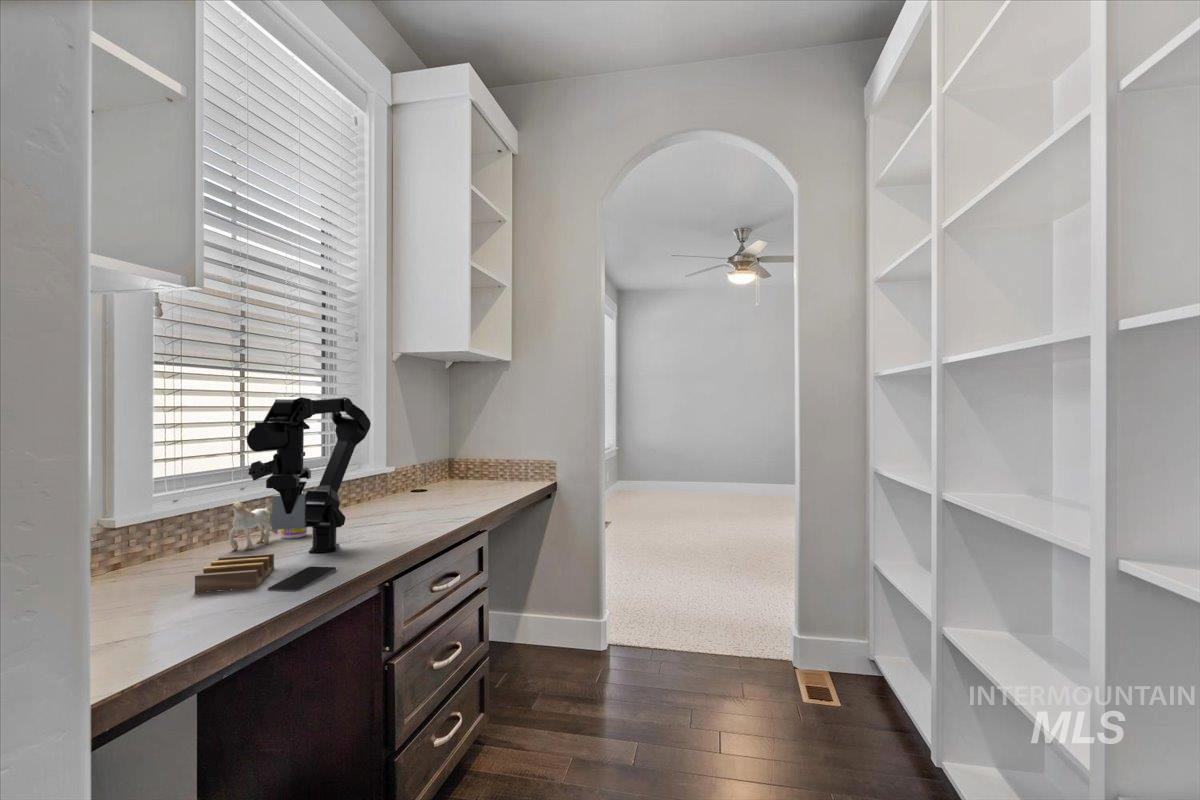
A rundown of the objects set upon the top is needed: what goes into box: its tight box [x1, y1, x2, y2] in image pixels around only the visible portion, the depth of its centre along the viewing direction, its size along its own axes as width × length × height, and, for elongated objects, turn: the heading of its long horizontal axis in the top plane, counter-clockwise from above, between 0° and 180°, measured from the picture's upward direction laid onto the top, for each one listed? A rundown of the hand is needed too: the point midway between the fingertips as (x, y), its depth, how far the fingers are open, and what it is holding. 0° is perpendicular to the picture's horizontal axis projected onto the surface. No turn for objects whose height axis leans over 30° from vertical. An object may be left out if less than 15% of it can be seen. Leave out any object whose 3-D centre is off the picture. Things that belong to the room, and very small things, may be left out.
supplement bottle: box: [280, 490, 308, 540], centre depth 165 cm, size 7×7×13 cm
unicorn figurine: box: [228, 501, 279, 551], centre depth 152 cm, size 7×20×13 cm, turn 6°
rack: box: [194, 552, 275, 594], centre depth 125 cm, size 15×11×4 cm
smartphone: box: [267, 565, 337, 593], centre depth 125 cm, size 7×1×15 cm
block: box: [271, 493, 307, 530], centre depth 138 cm, size 2×7×8 cm, turn 107°
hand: (289, 512), depth 138 cm, fingers closed on block, 2 cm apart
